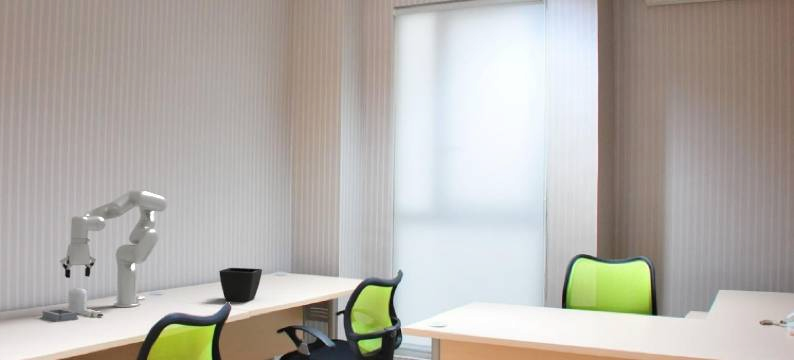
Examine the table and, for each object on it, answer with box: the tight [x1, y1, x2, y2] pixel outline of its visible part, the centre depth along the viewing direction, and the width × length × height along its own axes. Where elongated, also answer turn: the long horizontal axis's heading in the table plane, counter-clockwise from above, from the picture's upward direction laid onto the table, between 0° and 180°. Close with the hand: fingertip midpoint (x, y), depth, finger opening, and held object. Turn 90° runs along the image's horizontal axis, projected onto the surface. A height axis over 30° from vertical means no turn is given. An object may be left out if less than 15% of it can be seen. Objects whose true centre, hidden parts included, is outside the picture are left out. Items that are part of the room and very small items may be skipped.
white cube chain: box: [83, 308, 104, 318], centre depth 344 cm, size 4×13×2 cm, turn 51°
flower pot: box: [219, 267, 263, 303], centre depth 401 cm, size 19×19×17 cm
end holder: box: [41, 308, 79, 323], centre depth 335 cm, size 10×15×3 cm, turn 51°
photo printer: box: [67, 286, 88, 315], centre depth 351 cm, size 10×4×12 cm, turn 60°
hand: (77, 277), depth 351 cm, fingers open, 9 cm apart
